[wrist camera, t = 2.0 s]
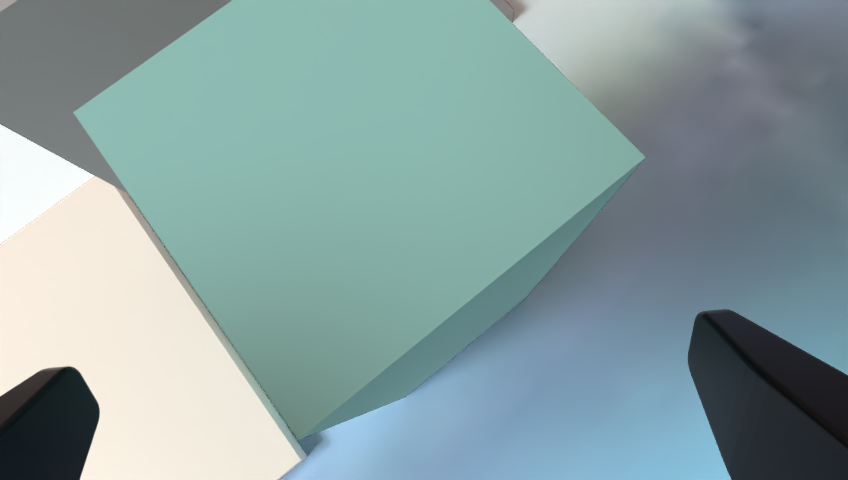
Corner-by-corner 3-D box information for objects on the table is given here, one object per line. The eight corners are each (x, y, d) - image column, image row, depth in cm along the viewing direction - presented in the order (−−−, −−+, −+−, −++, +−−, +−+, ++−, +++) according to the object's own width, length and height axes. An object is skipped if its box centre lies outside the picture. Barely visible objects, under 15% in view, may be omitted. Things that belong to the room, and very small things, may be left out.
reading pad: (308, 456, 17) (300, 460, 16) (-24, 727, 16) (-48, 745, 15) (117, 177, 20) (103, 169, 19) (-179, 392, 19) (-207, 393, 18)
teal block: (525, 298, 18) (645, 157, 6) (406, 396, 18) (298, 440, 6) (425, 181, 19) (372, -118, 8) (310, 270, 19) (63, 98, 7)
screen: (516, 20, 20) (567, -300, 11) (206, 255, 19) (-58, 130, 9) (448, -48, 21) (438, -401, 12) (147, 171, 20) (-151, -23, 10)
